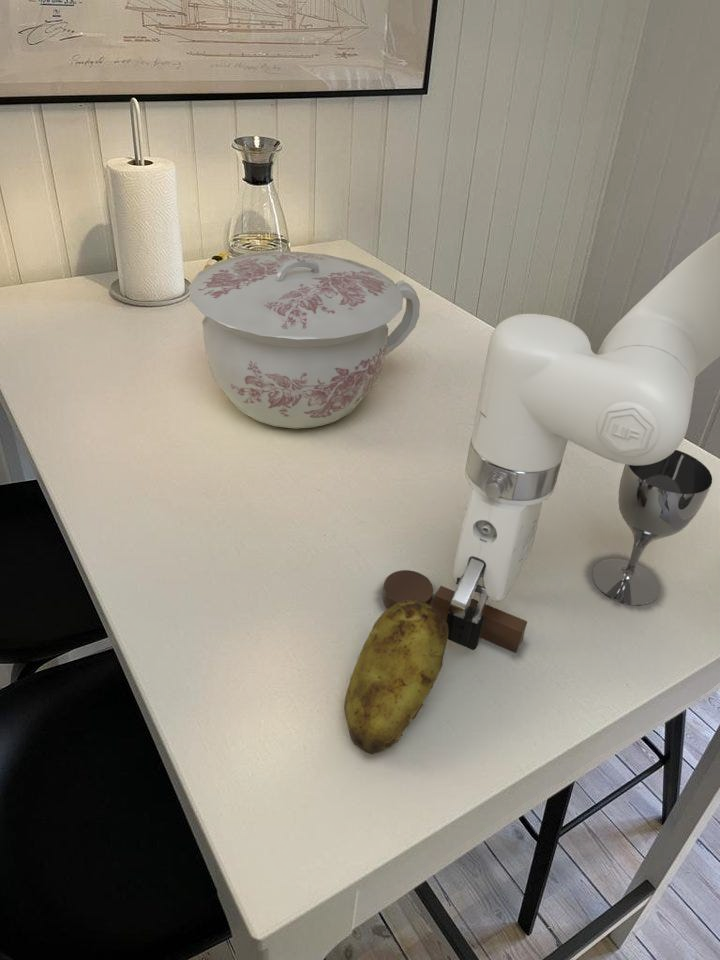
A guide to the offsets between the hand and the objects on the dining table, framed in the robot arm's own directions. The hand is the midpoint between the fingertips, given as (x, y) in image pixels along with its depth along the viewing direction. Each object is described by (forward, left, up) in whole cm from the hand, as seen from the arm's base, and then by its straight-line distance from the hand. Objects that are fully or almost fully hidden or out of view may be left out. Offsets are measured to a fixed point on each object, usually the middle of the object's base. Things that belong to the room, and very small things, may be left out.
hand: (478, 609), depth 72 cm
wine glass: (-12, -15, -3) cm, 19 cm away
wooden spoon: (+3, 0, -3) cm, 4 cm away
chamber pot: (+37, -27, -3) cm, 46 cm away
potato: (+3, +12, -3) cm, 13 cm away
